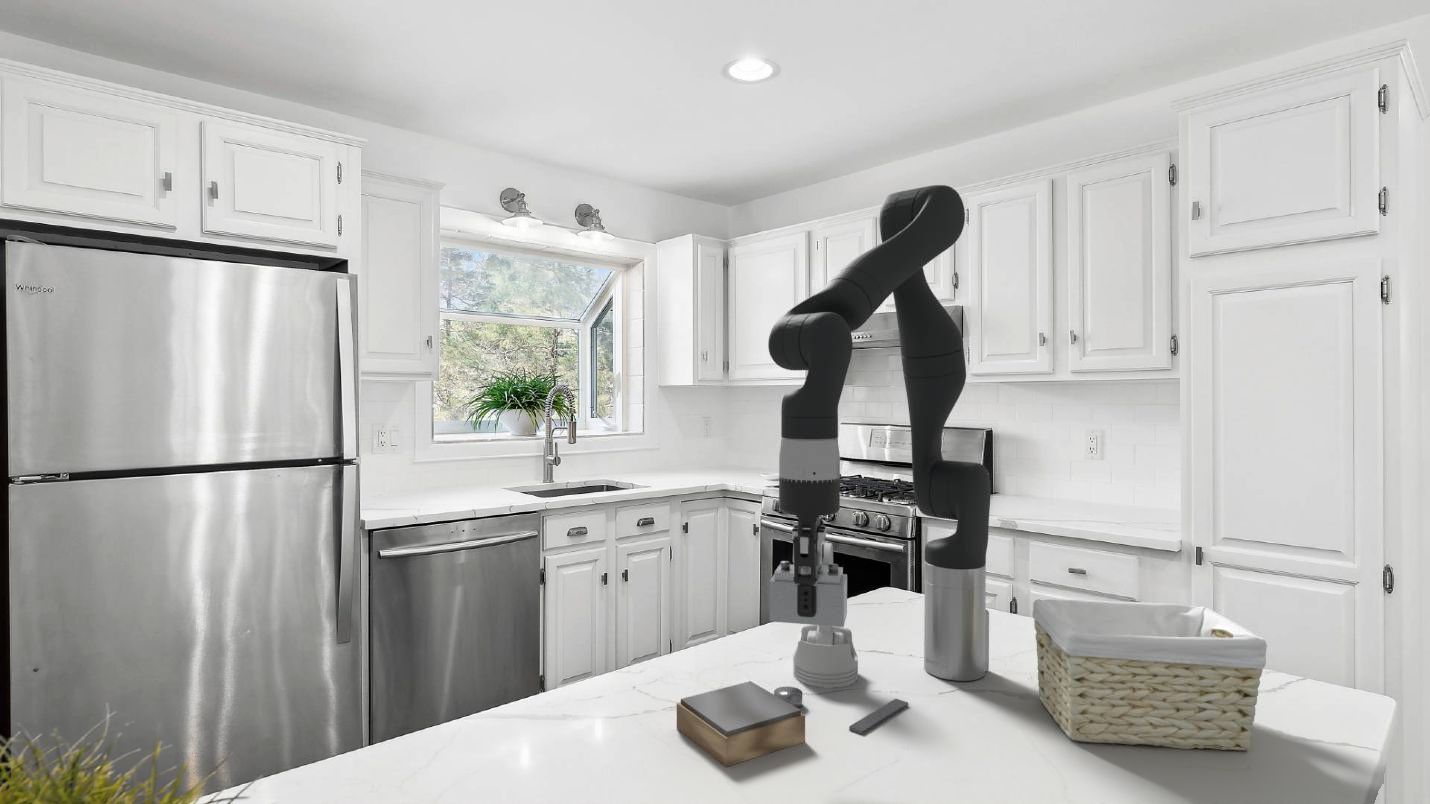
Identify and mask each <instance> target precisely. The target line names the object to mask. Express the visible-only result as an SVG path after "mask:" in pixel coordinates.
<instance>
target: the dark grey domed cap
mask: <svg viewBox="0 0 1430 804" xmlns="http://www.w3.org/2000/svg"><path fill="white" fill-rule="evenodd" d="M773 694H774V695H775V696H777V697H779V698H781V699H782V700H784V701H786V702H788V703H789V704H791V705H793V706H795V707H796V708H798V709H800V708H801V709H803V691H802V689H799V688H798V687H795V686H779V687H776V688H775V689H774V691H773ZM801 709H800V710H801Z"/></svg>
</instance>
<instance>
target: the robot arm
mask: <svg viewBox="0 0 1430 804" xmlns="http://www.w3.org/2000/svg"><path fill="white" fill-rule="evenodd" d="M965 219H966V213H965V205H964V202H963V199H962V197H961V195H960V194H959V192H958V191H957V190H956V189H955V188H953V187H951V186H949V185H945V184H944V185H943V184H938V185H937V184H935V185H934V184H933V185H928V186H922V187H917V188H913V189H912V188H911V189H907V190H902V191H896V192H893V193H890V194H889V195H887V196H886V197H885V198H884V199H883V202H882V204H881V206H880V210H879V220H878V221H879V222H878V223H879V232H880V233H879V234H880V240H881V243H880V244H878V245H876V246H874V247H872V248H871V249H869V250H867V251H865V252H864V253H862V254H860V255H859V256H857V257H855V258H854V259H852V260H851V261H850V262H848V263H847V264H846V265H845V266H844V267H842V268H841V270H840V271H839V272H837V273H836V275H835V276H834V277H832V279H831V280H830V281H829V282H828V283H826V285H825V286H824V287H823V288H822V289H821V290H820V291H818V292H816V293H814V294H813V295H811V296H808V297H807V298H806V299H804V300H802V301H800V303H797V304H796V305H795V306H793V307H792V308H790V309H789V310H787V311H786V312H785V313H784V314H783V315H781V316H780V317H779V318H778V319H777V321H776V322H775V324H773V327H772V329H771V330H770V333H769V337H768V343H767V344H768V352H769V356H770V358H771V359H772V360H773V362H774V364H776V365H777V366H778V367H780V368H782V369H784V370H788V371H807V375H806V378H805V381H804V384H803V386H801V387H800V388H797V389H794V390H791V391H789V392H786V393H785V394H784V396H783V397H782V400H781V401H782V402H781V411H780V415H781V419H780V420H781V422H780V423H781V427H780V428H781V429H780V430H781V431H780V432H781V433H780V435H781V436H780V437H781V440H780V448H779V459H778V463H779V464H778V467H779V468H778V488H779V489H778V493H779V494H778V505H779V506H778V508H779V511H781V512H782V513H783V514H787V515H794V516H796V517H797V524H794V527H793V528H791V541H792V544H793V545H792V547H793V548H792V563H793V565H794V579H793V580H794V582H795V584H796V585H797V613H798V615H799V616H801V617H814V616H815V614H816V586H817V584H818V579H817V569H818V568H819V567H821V565H822V562H823V558H824V543H825V540H826V537H827V526H826V525H824V520H823V518H821V516H824V517H826V516H832V515H836V514H837V513H838V512H839V511H840V509H841V505H840V504H841V503H840V501H841V499H840V498H841V497H840V496H841V469H840V468H841V456H840V455H841V454H840V447H839V446H840V445H839V417H838V416H839V404H840V400H841V397H842V393H843V389H844V385H845V381H846V377H847V373H848V370H849V367H850V363H851V359H852V353H853V336H852V332H855V331H856V330H858V329H860V328H861V326H862V327H863V325H864V324H865V323H866V322H867V321H868V320H869V319H870V318H871V317H872V315H873V314H874V313H875V312H876V311H877V310H878V309H879V308H880V306H882V304H883V303H884V302H885V300H886V299H888V297H889V296H891V295H892V294H893V301H894V306H895V314H896V319H897V320H896V321H897V327H898V337H899V346H900V357H901V365H902V372H903V379H904V385H905V391H906V398H907V400H906V401H907V407H908V416H909V423H910V437H911V438H910V439H911V465H912V467H911V469H912V488H913V495H914V500H915V503H916V504H915V505H916V507H917V508H918V510H919V511H920V513H921V514H922V515H925V516H927V517H931V518H938V519H944V520H945V519H946V520H954V521H957V523H956V530H955V531H954V533H953V534H951V535H949V536H945V537H941V538H937V539H933V540H931V541H928V542H927V543H926V544H925V546H924V614H923V615H924V617H923V618H924V620H923V621H924V626H923V627H924V629H923V630H924V637H923V638H924V639H923V641H924V642H923V647H924V648H923V650H924V651H923V653H924V654H923V667H924V670H925V671H926V672H927V673H929V674H930V675H933V677H937V678H939V679H944V680H949V681H956V682H959V681H962V682H968V681H969V682H970V681H976V680H979V679H981V678H984V676H985V675H986V672H987V671H989V670H990V663H989V662H990V612H989V610H987V609H986V606H987V605H986V600H987V599H986V597H987V596H986V588H987V587H986V586H987V585H986V579H987V576H986V573H987V571H986V569H987V566H986V563H987V561H986V560H987V549H988V544H989V529H990V527H989V525H990V510H991V492H992V491H991V479H990V475H989V472H988V470H987V468H986V467H985V466H984V465H983V464H981V463H978V462H973V461H962V460H960V461H958V460H944V458H943V454H942V436H943V430H944V427H945V424H946V422H947V420H948V418H949V416H950V414H951V413H952V411H953V409H954V407H955V405H956V404H957V402H958V401H959V400H958V399H959V398H960V396H961V394H962V391H963V389H964V386H965V384H966V382H967V381H966V380H967V369H966V368H967V367H966V359H965V348H964V341H963V336H962V333H961V331H960V329H959V328H958V326H957V324H956V322H955V321H954V319H953V318H952V317H951V315H950V313H948V312H947V310H946V309H945V308H944V306H943V305H942V303H941V302H940V301H939V300H938V298H937V297H936V295H935V293H934V292H933V291H932V290H931V287H930V286H929V283H928V280H927V278H926V276H925V275H926V274H925V270H924V267H925V266H926V265H927V264H929V263H930V262H931V261H932V260H934V259H935V258H937V257H938V256H940V255H941V254H942V253H943V252H945V251H946V250H948V249H950V248H951V247H952V246H953V245H954V244H955V243H956V242H957V241H958V240H959V238H960V237H961V234H962V232H963V229H964V226H965V222H966V220H965ZM802 567H810V568H811V574H801V568H802Z"/></svg>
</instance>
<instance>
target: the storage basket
mask: <svg viewBox="0 0 1430 804" xmlns="http://www.w3.org/2000/svg"><path fill="white" fill-rule="evenodd" d="M1032 604H1033V605H1032V606H1033V607H1032V608H1033V610H1032V618H1033V619H1034V620H1033V621H1034V630H1035V632H1036V633H1035V641H1036V656H1037V657H1036V658H1037V671H1038V672H1037V680H1038V681H1037V682H1038V683H1037V684H1038V697H1039V700H1040V702H1041V703H1042V704H1043V706H1044V708H1045V709H1046V710H1047V712H1048V713H1049V714H1050V715H1051V716H1053V717H1052V718H1053V720H1054V721H1055V723H1057V725H1059V726H1060V729H1061V730H1062V731H1063V732H1064V733H1065V734H1066V736H1067V737H1068V739H1070V740H1072V741H1078V742H1086V743H1097V744H1098V743H1108V744H1122V745H1123V744H1124V745H1130V746H1132V745H1134V746H1135V745H1151V746H1155V747H1159V746H1162V747H1165V748H1172V749H1173V748H1175V749H1184V750H1185V749H1187V750H1190V749H1195V748H1197V749H1201V750H1203V749H1213V750H1214V749H1215V750H1221V751H1226V750H1232V751H1233V750H1234V751H1249V750H1250V748H1251V746H1252V745H1251V744H1252V742H1251V739H1252V730H1253V727H1254V722H1255V719H1256V718H1255V716H1256V706H1257V704H1258V703H1257V702H1258V696H1259V687H1260V684H1261V681H1260V679H1261V677H1262V676H1263V674H1262V673H1263V670H1264V669H1265V667H1266V665H1267V664H1266V663H1267V661H1266V660H1267V658H1266V656H1267V649H1268V644H1267V641H1266V639H1264V638H1263V637H1261V636H1259V635H1257V634H1256V633H1254V632H1252V631H1250V630H1249V629H1247V628H1245V627H1244V626H1241V625H1240V624H1239V623H1236V622H1234V621H1233V620H1230V619H1229V618H1227V617H1226V616H1224V615H1221V614H1220V613H1218V612H1216V611H1214V610H1212V609H1210V608H1209V607H1207V606H1194V605H1185V604H1177V603H1159V602H1158V603H1157V602H1139V601H1137V602H1136V601H1134V602H1133V601H1109V600H1108V601H1107V600H1105V601H1104V600H1088V599H1069V598H1067V599H1066V598H1065V599H1063V598H1062V599H1036V600H1034V601H1033V603H1032ZM1213 635H1214V636H1215V637H1213Z"/></svg>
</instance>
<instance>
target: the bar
mask: <svg viewBox="0 0 1430 804" xmlns="http://www.w3.org/2000/svg"><path fill="white" fill-rule="evenodd" d="M905 707H906V708H909V702H907V701H905V700H901V699H898V698H894V699H891V701H889V702H887V703H886V704H884V705H882V706H881V707H879V708H878V709H875V710H874V711H872V712H871V713H869V714H867V715H866V716H863V718H861V719H858V720H857V721H855V722H854V723H852V724H850V725H849V726H848V727H849V729H848V731H850V732H853V733H856V734H859V735H861V736H863V735H865V734H866V733H868V732H869V731H871V730H873V729H875V728H876V727H878V726H879V725H881V724H882V723H884V722H886V721H887V720H889V719H890V718H892V717H894V716H896V715H897V714H898V713H900V712H902V711H903V710H905V709H906V708H905ZM904 708H905V709H904ZM901 710H902V711H901ZM896 713H897V714H896ZM893 715H894V716H893ZM888 718H889V719H888ZM877 725H878V726H877Z"/></svg>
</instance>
